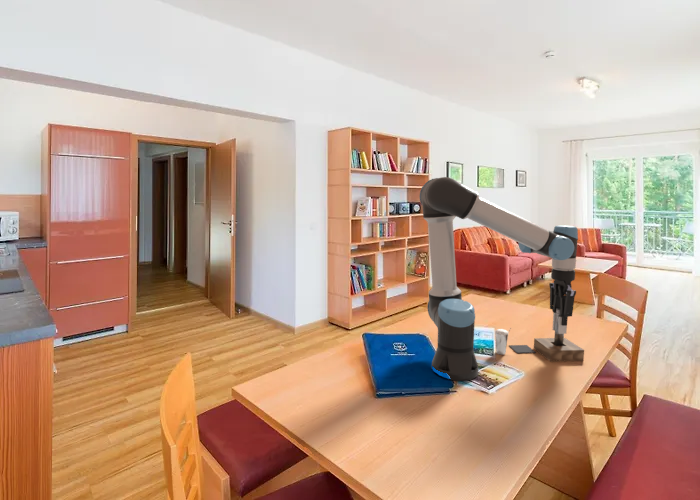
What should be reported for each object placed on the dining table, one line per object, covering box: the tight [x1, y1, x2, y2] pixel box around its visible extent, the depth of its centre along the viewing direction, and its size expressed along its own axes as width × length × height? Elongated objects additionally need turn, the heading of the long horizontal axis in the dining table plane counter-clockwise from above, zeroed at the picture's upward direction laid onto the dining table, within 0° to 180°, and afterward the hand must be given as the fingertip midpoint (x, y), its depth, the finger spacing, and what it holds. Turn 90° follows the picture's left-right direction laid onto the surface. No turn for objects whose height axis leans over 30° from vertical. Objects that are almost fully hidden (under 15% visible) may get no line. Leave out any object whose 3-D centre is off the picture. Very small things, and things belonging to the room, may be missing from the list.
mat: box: [508, 344, 537, 354], centre depth 151 cm, size 7×7×1 cm
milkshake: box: [494, 327, 512, 356], centre depth 147 cm, size 4×5×10 cm
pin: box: [553, 308, 565, 346], centre depth 145 cm, size 3×3×14 cm
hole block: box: [533, 337, 585, 362], centre depth 146 cm, size 12×12×4 cm
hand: (559, 331), depth 145 cm, fingers closed on pin, 3 cm apart
